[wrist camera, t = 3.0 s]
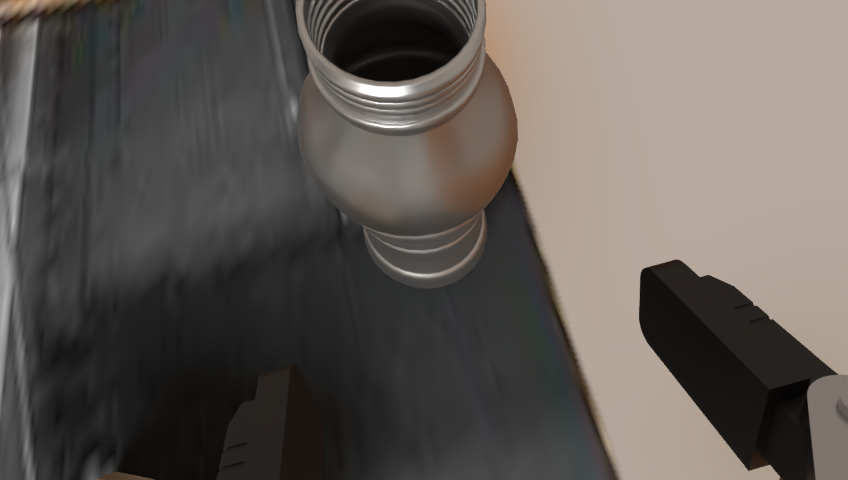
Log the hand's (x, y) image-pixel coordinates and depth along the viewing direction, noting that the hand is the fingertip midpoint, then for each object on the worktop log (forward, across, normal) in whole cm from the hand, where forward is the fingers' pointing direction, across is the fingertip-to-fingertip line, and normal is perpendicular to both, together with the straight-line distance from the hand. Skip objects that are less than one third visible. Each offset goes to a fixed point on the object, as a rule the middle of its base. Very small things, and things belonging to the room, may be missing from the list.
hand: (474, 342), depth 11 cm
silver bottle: (+16, 0, +7) cm, 18 cm away
